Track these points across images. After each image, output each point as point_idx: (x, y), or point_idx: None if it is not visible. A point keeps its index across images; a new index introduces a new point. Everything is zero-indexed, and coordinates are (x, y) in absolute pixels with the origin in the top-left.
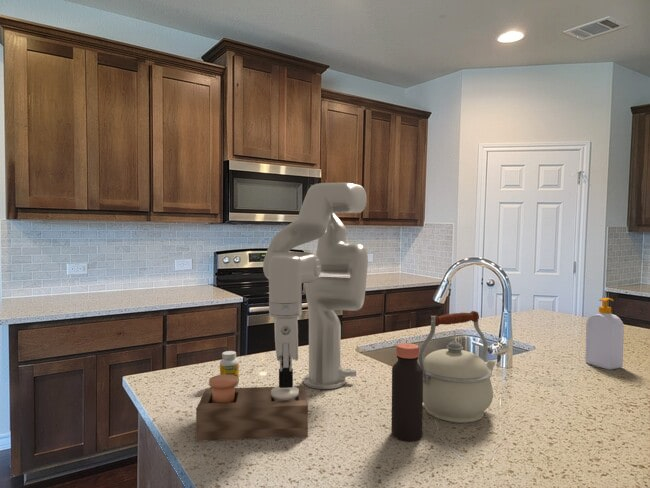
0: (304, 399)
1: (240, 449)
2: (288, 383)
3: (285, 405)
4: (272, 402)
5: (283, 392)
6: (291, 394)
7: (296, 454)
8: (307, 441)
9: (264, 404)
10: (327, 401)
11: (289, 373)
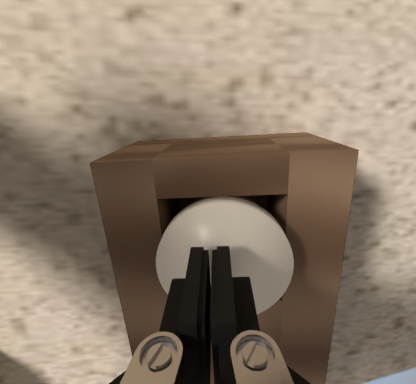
0: (279, 167)
1: (344, 295)
2: (250, 282)
3: (337, 249)
4: (295, 295)
5: (253, 274)
6: (285, 239)
7: (408, 166)
8: (336, 133)
9: (312, 320)
10: (14, 50)
11: (236, 323)
